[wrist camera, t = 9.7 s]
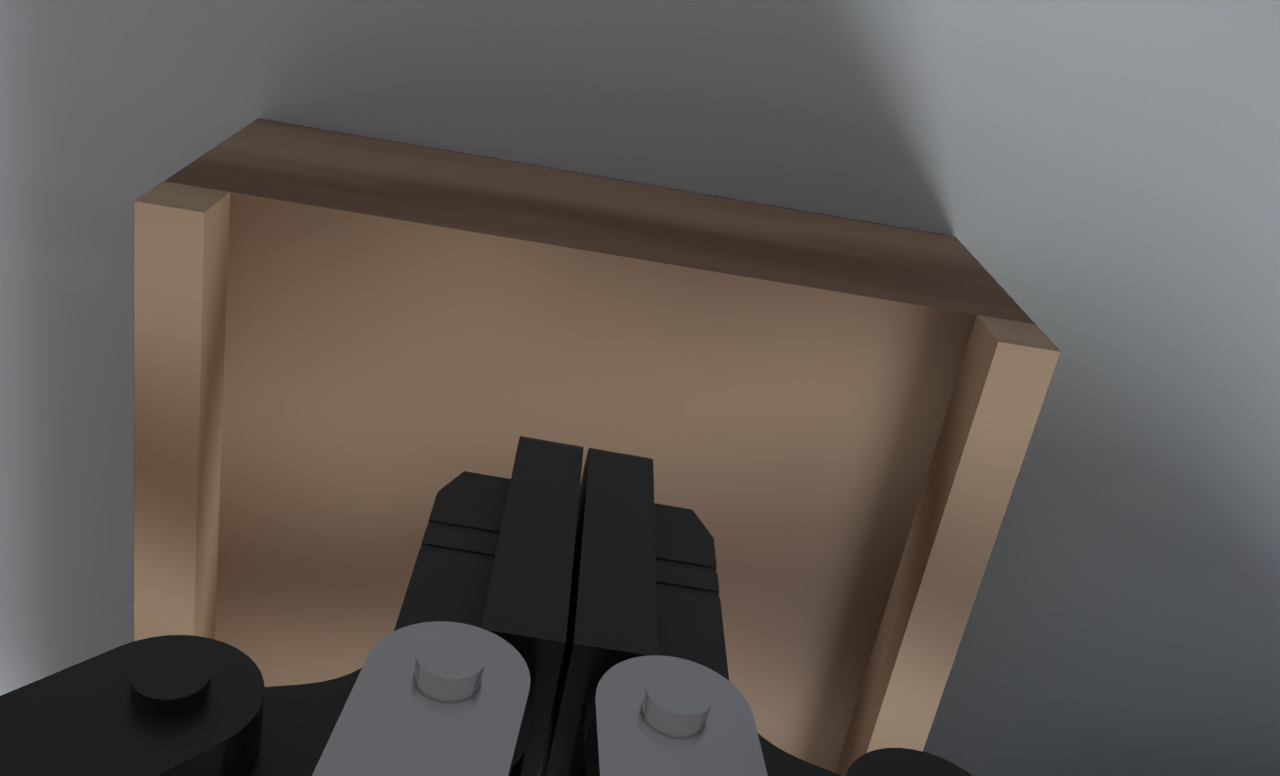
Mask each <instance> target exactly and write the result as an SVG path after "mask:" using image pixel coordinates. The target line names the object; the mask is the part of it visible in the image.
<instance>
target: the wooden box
mask: <svg viewBox="0 0 1280 776" xmlns="http://www.w3.org/2000/svg"><path fill="white" fill-rule="evenodd" d="M1059 355H1060V351H1059V350H1058V348H1057V347H1056V346H1055V345H1054V344H1053V343H1052V342H1051V341H1050V340H1049V339H1048V338H1047V336H1046V335H1045V334H1044V333H1043V332H1042V331H1041V330H1040V329H1039V328H1038V327H1037V326H1036V324H1035V323H1034V322H1033V321H1032V320H1031V319H1030V318H1029V317H1028V316H1027V315H1026V314H1025V312H1024V311H1023V310H1022V309H1021V308H1020V307H1019V306H1018V305H1017V304H1016V303H1015V301H1014V300H1013V299H1012V298H1011V297H1010V296H1009V295H1008V294H1007V293H1006V292H1005V291H1004V289H1003V288H1002V287H1001V286H1000V285H999V284H998V283H997V282H996V281H995V280H994V279H993V277H992V276H991V275H990V274H989V273H988V272H987V271H986V270H985V269H984V268H983V267H982V265H981V264H980V263H979V262H978V261H977V260H976V259H975V258H974V257H973V256H972V255H971V253H970V252H969V251H968V250H967V249H966V248H965V247H964V246H963V245H962V244H961V242H960V241H959V240H958V239H957V238H956V237H951V236H945V235H939V234H933V233H928V232H922V231H916V230H910V229H904V228H898V227H892V226H886V225H880V224H874V223H869V222H863V221H857V220H851V219H845V218H839V217H833V216H827V215H821V214H816V213H810V212H804V211H798V210H792V209H786V208H780V207H774V206H768V205H763V204H757V203H751V202H745V201H739V200H733V199H727V198H721V197H715V196H709V195H704V194H698V193H692V192H686V191H680V190H674V189H668V188H662V187H656V186H651V185H645V184H639V183H633V182H627V181H621V180H615V179H609V178H603V177H598V176H592V175H586V174H580V173H574V172H568V171H562V170H556V169H550V168H544V167H539V166H533V165H527V164H521V163H515V162H509V161H503V160H497V159H491V158H486V157H480V156H474V155H468V154H462V153H456V152H450V151H444V150H438V149H433V148H427V147H421V146H415V145H409V144H403V143H397V142H391V141H385V140H379V139H374V138H368V137H362V136H356V135H350V134H344V133H338V132H332V131H326V130H321V129H315V128H309V127H303V126H297V125H291V124H285V123H279V122H273V121H268V120H262V119H257V120H255V121H254V122H252V123H251V124H249V125H248V126H246V127H245V128H243V129H242V130H240V131H239V132H237V133H236V134H234V135H233V136H231V137H230V138H228V139H227V140H225V141H224V142H222V143H221V144H219V145H218V146H216V147H215V148H213V149H212V150H210V151H209V152H207V153H206V154H204V155H203V156H201V157H200V158H198V159H197V160H195V161H194V162H192V163H191V164H189V165H188V166H186V167H185V168H183V169H182V170H180V171H179V172H177V173H176V174H174V175H173V176H171V177H170V178H168V179H167V180H165V181H164V182H162V183H161V184H159V185H158V186H156V187H155V188H153V189H152V190H150V191H149V192H147V193H146V194H144V195H143V196H141V197H140V198H138V199H137V200H135V201H134V641H137V640H142V639H146V638H150V637H158V636H165V635H191V636H200V637H206V638H211V639H215V640H218V641H221V642H224V643H227V644H229V645H231V646H233V647H235V648H237V649H239V650H240V651H242V652H243V653H245V654H246V655H248V656H249V657H250V658H251V659H252V660H253V661H254V662H255V664H256V665H257V667H258V668H259V670H260V671H261V673H262V676H263V680H264V687H272V686H285V685H299V684H309V683H317V682H323V681H327V680H332V679H336V678H339V677H342V676H345V675H347V674H350V673H352V672H354V671H356V670H358V669H360V668H362V667H363V665H364V663H365V660H366V658H367V656H368V655H369V653H370V651H371V650H372V648H373V647H374V646H375V645H376V644H377V643H378V642H379V641H380V640H381V639H382V638H384V637H385V636H387V635H388V634H390V633H392V632H394V629H395V626H396V623H397V620H398V616H399V613H400V610H401V607H402V604H403V600H404V597H405V594H406V591H407V588H408V585H409V581H410V578H411V575H412V572H413V569H414V565H415V562H416V559H417V556H418V553H419V549H421V543H422V540H423V537H424V533H425V530H426V527H427V525H428V522H429V518H430V514H431V511H432V508H433V505H434V502H435V498H436V495H437V492H438V491H439V490H441V489H442V488H443V487H445V486H446V485H447V484H448V483H450V482H451V481H452V480H453V479H455V478H456V477H457V476H459V475H460V474H461V473H462V472H464V471H467V472H473V473H479V474H484V475H490V476H496V477H502V478H508V479H511V476H512V471H513V466H514V461H515V456H516V452H517V447H518V442H519V437H520V436H523V437H529V438H535V439H541V440H547V441H552V442H558V443H564V444H570V445H575V446H581V447H584V450H583V461H582V472H581V479H582V474H583V469H584V465H585V460H586V456H587V452H588V449H589V448H594V449H600V450H606V451H611V452H617V453H623V454H629V455H635V456H640V457H646V458H652V459H653V471H654V503H657V504H663V505H668V506H674V507H680V508H686V509H692V510H693V511H694V512H695V514H696V515H697V516H698V518H699V519H700V520H701V522H702V523H703V524H704V526H705V527H706V528H707V530H708V531H709V533H710V534H711V535H712V537H713V538H714V546H715V555H716V564H717V569H716V573H718V582H719V597H720V601H721V610H722V619H723V628H724V637H725V647H726V656H727V665H728V674H729V681H730V682H731V683H732V684H733V685H734V686H735V687H736V688H737V689H738V690H739V691H740V692H741V693H742V694H743V696H744V697H745V698H746V700H747V702H748V703H749V705H750V707H751V710H752V713H753V716H754V720H755V724H756V728H757V732H758V733H759V734H760V735H761V736H762V737H763V738H765V739H766V740H768V741H769V742H770V743H772V744H773V745H775V746H776V747H778V748H780V749H781V750H783V751H785V752H787V753H788V754H791V755H793V756H795V757H797V758H799V759H802V760H804V761H806V762H809V763H811V764H814V765H816V766H819V767H821V768H824V769H826V770H829V771H831V772H834V773H836V774H839V775H841V776H846V773H847V772H848V770H849V768H850V766H851V765H852V764H853V762H854V761H855V760H856V759H857V758H859V757H861V756H862V755H864V754H865V753H868V752H871V751H874V750H877V749H883V748H906V749H914V750H918V751H922V752H923V749H924V746H925V743H926V741H927V738H928V735H929V732H930V729H931V726H932V723H933V720H934V717H935V715H936V712H937V709H938V706H939V703H940V700H941V697H942V694H943V691H944V688H945V686H946V683H947V680H948V677H949V674H950V671H951V668H952V665H953V662H954V659H955V657H956V654H957V651H958V648H959V645H960V642H961V639H962V636H963V633H964V631H965V628H966V625H967V622H968V619H969V616H970V613H971V610H972V607H973V604H974V602H975V599H976V596H977V593H978V590H979V587H980V584H981V581H982V578H983V575H984V573H985V570H986V567H987V564H988V561H989V558H990V555H991V552H992V549H993V547H994V544H995V541H996V538H997V535H998V532H999V529H1000V526H1001V523H1002V520H1003V518H1004V515H1005V512H1006V509H1007V506H1008V503H1009V500H1010V497H1011V494H1012V492H1013V489H1014V486H1015V483H1016V480H1017V477H1018V474H1019V471H1020V468H1021V465H1022V463H1023V460H1024V457H1025V454H1026V451H1027V448H1028V445H1029V442H1030V439H1031V436H1032V434H1033V431H1034V428H1035V425H1036V422H1037V419H1038V416H1039V413H1040V410H1041V408H1042V405H1043V402H1044V399H1045V396H1046V393H1047V390H1048V387H1049V384H1050V381H1051V379H1052V376H1053V373H1054V370H1055V367H1056V364H1057V361H1058V358H1059ZM580 484H581V483H580ZM538 776H539V774H538Z"/></svg>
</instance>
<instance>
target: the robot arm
mask: <svg viewBox="0 0 1280 776" xmlns="http://www.w3.org/2000/svg"><path fill="white" fill-rule="evenodd" d="M583 450H584V447H581V446H575V445H570V444H564V443H558V442H552V441H547V440H541V439H535V438H529V437H523V436H520V437H519V442H518V447H517V452H516V456H515V461H514V466H513V471H512V476H511V479H508V478H502V477H496V476H490V475H484V474H479V473H473V472H467V471H464V472H462V473H461V474H460V475H459V476H457V477H456V478H455V479H453V480H452V481H451V482H450V483H448V484H447V485H446V486H445V487H443V488H442V489H441V490H439V491H438V492H437V495H436V498H435V502H434V505H433V508H432V511H431V514H430V518H429V522H428V525H427V527H426V530H425V533H424V537H423V540H422V543H421V549H419V553H418V556H417V559H416V562H415V565H414V569H413V572H412V575H411V578H410V581H409V585H408V588H407V591H406V594H405V597H404V600H403V604H402V607H401V610H400V613H399V616H398V620H397V623H396V626H395V629H394V632H392V633H390V634H388V635H387V636H385V637H384V638H382V639H381V640H380V641H379V642H378V643H377V644H376V645H375V646H374V647H373V648H372V650H371V651H370V653H369V655H368V656H367V658H366V660H365V663H364V665H363V667H362V668H360V669H358V670H356V671H354V672H352V673H350V674H347V675H345V676H342V677H339V678H336V679H332V680H327V681H323V682H317V683H309V684H299V685H285V686H272V687H264V680H263V676H262V673H261V671H260V670H259V668H258V667H257V665H256V664H255V662H254V661H253V660H252V659H251V658H250V657H249V656H248V655H246V654H245V653H243V652H242V651H240V650H239V649H237V648H235V647H233V646H231V645H229V644H227V643H224V642H221V641H218V640H215V639H211V638H206V637H200V636H191V635H165V636H158V637H150V638H146V639H142V640H137V641H134V642H131V643H128V644H125V645H123V646H120V647H117V648H115V649H113V650H110V651H108V652H105V653H103V654H101V655H98V656H96V657H93V658H91V659H88V660H86V661H84V662H81V663H79V664H76V665H74V666H72V667H69V668H67V669H64V670H62V671H60V672H57V673H55V674H52V675H50V676H48V677H45V678H43V679H40V680H38V681H35V682H33V683H31V684H28V685H26V686H23V687H21V688H19V689H16V690H14V691H11V692H9V693H7V694H4V695H2V696H0V776H538V774H539V776H841V775H839V774H836V773H834V772H831V771H829V770H826V769H824V768H821V767H819V766H816V765H814V764H811V763H809V762H806V761H804V760H802V759H799V758H797V757H795V756H793V755H791V754H788V753H787V752H785V751H783V750H781V749H780V748H778V747H776V746H775V745H773V744H772V743H770V742H769V741H768V740H766V739H765V738H763V737H762V736H761V735H760V734H759V733H758V732H757V728H756V724H755V720H754V716H753V713H752V710H751V707H750V705H749V703H748V702H747V700H746V698H745V697H744V696H743V694H742V693H741V692H740V691H739V690H738V689H737V688H736V687H735V686H734V685H733V684H732V683H731V682H730V681H729V674H728V665H727V656H726V647H725V637H724V628H723V619H722V610H721V601H720V597H719V582H718V573H716V569H717V564H716V555H715V546H714V538H713V537H712V535H711V534H710V533H709V531H708V530H707V528H706V527H705V526H704V524H703V523H702V522H701V520H700V519H699V518H698V516H697V515H696V514H695V512H694V511H693V510H692V509H686V508H680V507H674V506H668V505H663V504H657V503H654V471H653V459H652V458H646V457H640V456H635V455H629V454H623V453H617V452H611V451H606V450H600V449H594V448H589V449H588V452H587V456H586V460H585V465H584V469H583V474H582V479H581V472H582V461H583ZM580 483H581V484H580ZM846 776H972V775H971V774H969V773H968V772H967V771H965V770H963V769H962V768H960V767H958V766H957V765H955V764H953V763H951V762H949V761H947V760H945V759H942V758H940V757H938V756H935V755H932V754H929V753H926V752H922V751H918V750H914V749H906V748H883V749H877V750H874V751H871V752H868V753H865V754H864V755H862V756H861V757H859V758H857V759H856V760H855V761H854V762H853V764H852V765H851V766H850V768H849V770H848V772H847V773H846Z"/></svg>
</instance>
